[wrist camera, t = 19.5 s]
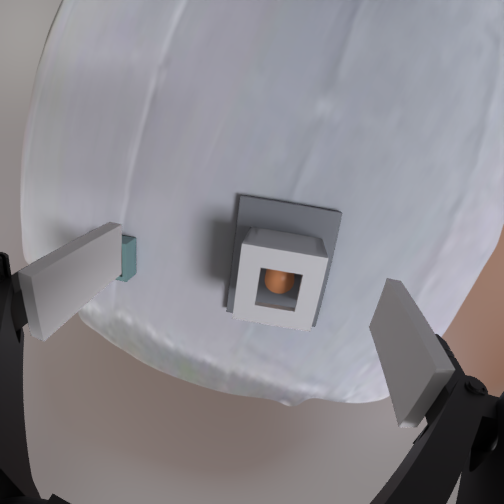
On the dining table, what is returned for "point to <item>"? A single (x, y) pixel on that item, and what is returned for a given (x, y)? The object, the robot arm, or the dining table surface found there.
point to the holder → (128, 258)
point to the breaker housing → (281, 261)
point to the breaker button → (279, 281)
